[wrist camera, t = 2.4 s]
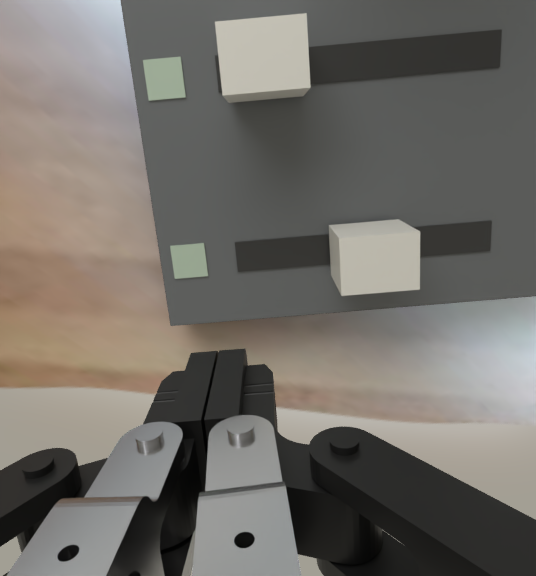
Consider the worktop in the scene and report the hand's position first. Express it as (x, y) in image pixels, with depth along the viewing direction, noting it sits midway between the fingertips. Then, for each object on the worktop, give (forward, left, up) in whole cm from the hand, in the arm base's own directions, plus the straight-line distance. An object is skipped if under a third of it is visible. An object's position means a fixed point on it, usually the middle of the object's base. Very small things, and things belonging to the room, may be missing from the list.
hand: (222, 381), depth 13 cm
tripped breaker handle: (-7, 0, -15) cm, 17 cm away
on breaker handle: (-2, -10, -15) cm, 18 cm away
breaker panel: (-7, -5, -19) cm, 20 cm away
